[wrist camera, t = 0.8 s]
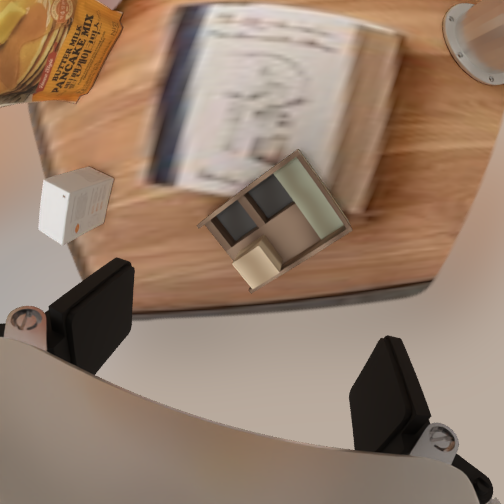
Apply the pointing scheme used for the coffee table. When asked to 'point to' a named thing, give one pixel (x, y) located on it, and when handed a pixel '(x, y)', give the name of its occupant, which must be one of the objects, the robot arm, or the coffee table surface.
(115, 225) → the coffee table surface
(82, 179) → the small box
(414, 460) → the robot arm
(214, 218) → the box
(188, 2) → the coffee table surface
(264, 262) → the birch block
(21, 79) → the pancake mix bag
